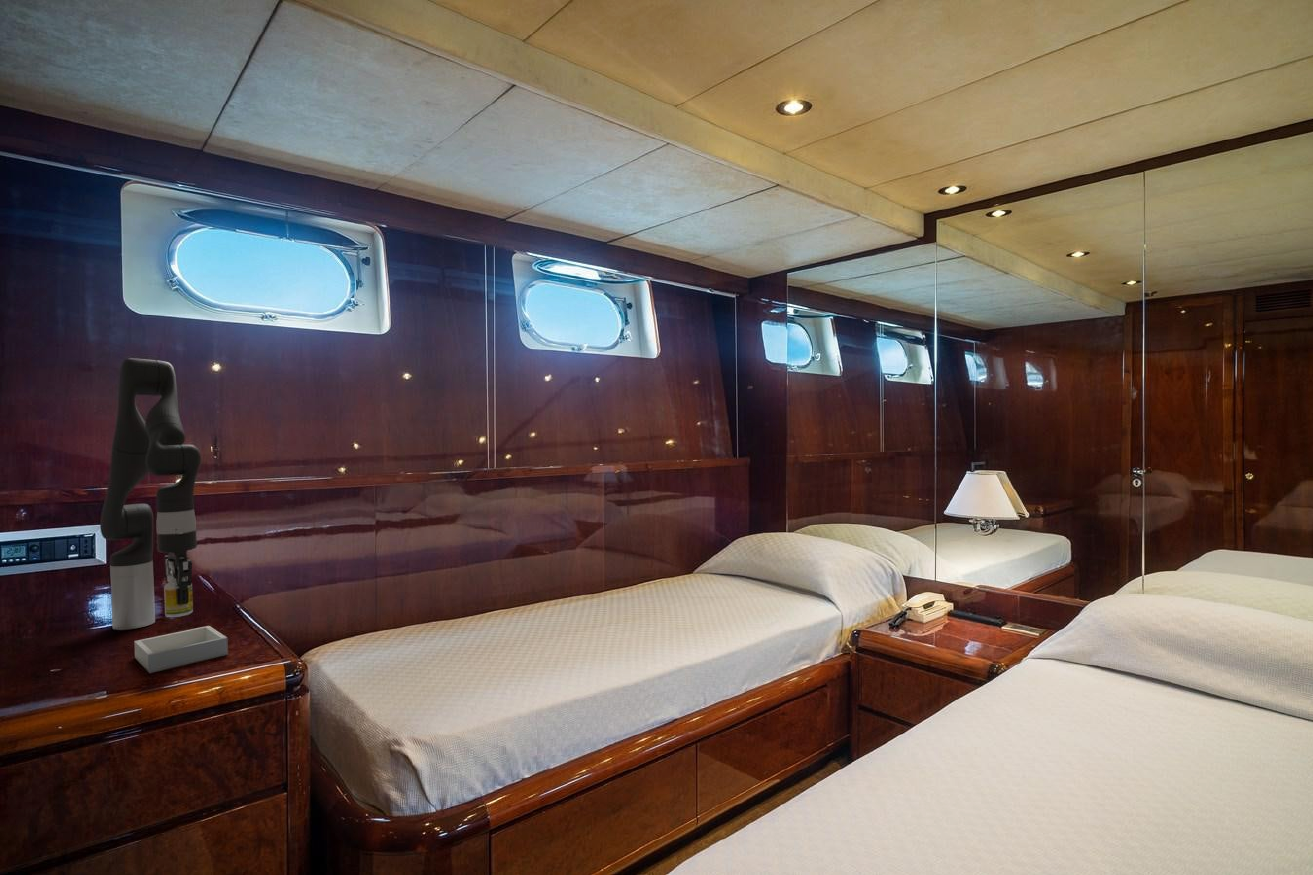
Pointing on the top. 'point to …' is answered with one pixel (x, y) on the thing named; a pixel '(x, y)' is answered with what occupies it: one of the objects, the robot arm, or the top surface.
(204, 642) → the box
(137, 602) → the robot arm
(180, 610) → the supplement bottle
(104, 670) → the top surface
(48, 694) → the top surface
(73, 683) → the top surface
